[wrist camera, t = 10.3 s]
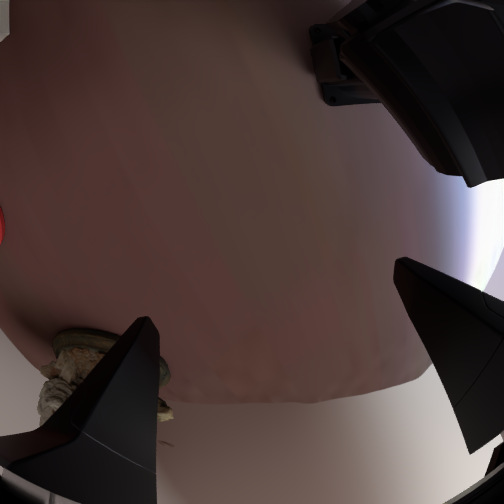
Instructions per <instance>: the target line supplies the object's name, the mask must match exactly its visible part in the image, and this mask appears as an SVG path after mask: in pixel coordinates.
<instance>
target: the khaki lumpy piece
mask: <svg viewBox="0 0 504 504" xmlns="http://www.w3.org/2000/svg"><path fill="white" fill-rule="evenodd" d="M119 338H120V337H119V336H117V335H115V334H112V333H108V332H102V331H97V330H91V329H69V330H64V331H63V332H60V333H59V334H58V335H57V336H56V337H55V338H54V340H53V343H52V347H53V350H54V353H55V355H56V358H57V361H56V362H54V361H53V362H51V363H50V364H49V365H45V366H42V367H41V369H40V372H41V374H42V375H44V376H45V377H46V378H48V379H49V381H46V382H45V383H44V386H43V388H42V390H41V392H40V396H39V397H40V399H39V402H38V407H37V410H38V413H39V414H40V415H41V417H40V426H42V425H43V424H44V423H45V422H46V420H47V419H48V418H49V417H50V416H51V415H52V414H53V413H54V412H55V411H56V410H57V409H58V408H59V407H60V406H61V405H62V404H63V403H64V402H65V400H66V399H67V398H68V397H69V396H70V395H71V394H72V393H73V392H74V390H75V389H76V388H77V387H78V386H79V384H80V383H81V382H83V380H84V378H85V377H86V376H87V375H88V374H89V373H90V371H91V370H92V369H93V368H94V367H95V366H96V364H97V363H98V362H99V361H100V360H101V359H102V357H103V356H104V355H105V354H106V353H107V352H108V351H109V349H110V348H111V347H112V346H113V345H114V344H115V343H116V341H117V340H118V339H119ZM169 380H170V371H169V368H168V365H167V364H166V362H165V361H164V359H163V358H162V357H161V356H160V381H159V389H160V388H162V387H164V386H166V385H167V384H168V383H169ZM173 418H174V416H173V413H172V409H171V408H170V407H169V406H167V404H166V402H165V401H163V400H162V399H161V398H159V397H158V411H157V421H160V422H163V421H164V420H166V421H168V420H169V419H173Z"/></svg>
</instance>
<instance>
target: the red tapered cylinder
mask: <svg viewBox="0 0 504 504" xmlns="http://www.w3.org/2000/svg"><path fill="white" fill-rule="evenodd" d="M4 234H5V222H4V216H3V213H2V210H1V207H0V244H1V242H2V240H3V238H4Z"/></svg>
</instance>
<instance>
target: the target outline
mask: <svg viewBox="0 0 504 504" xmlns="http://www.w3.org/2000/svg"><path fill="white" fill-rule="evenodd" d="M9 34H10V31H9V0H0V42H1V41H2V40H3V39H4V38H5V37H7V36H8V35H9Z"/></svg>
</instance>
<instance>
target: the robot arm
mask: <svg viewBox="0 0 504 504" xmlns="http://www.w3.org/2000/svg"><path fill="white" fill-rule="evenodd" d="M314 29H318V30H319V33H316V32H315V31H314ZM309 33H310V37H311V41H312V44H313V47H312V48H311V49H310V52H311V56H312V60H313V64H314V69H315V73H316V78H317V81H319V82H320V83H321V84H322V89H323V94H324V100H325V103H326V104H327V105H329V106H342V105H353V104H367V103H382V104H383V105H384V107H385V108H386V109H387V110H388V111H389V113H390V114H391V115H392V116H393V118H394V119H395V120H396V121H397V123H398V124H399V125H400V127H401V128H402V129H403V130H404V132H405V133H406V134H407V136H408V137H409V139H410V140H411V141H412V143H413V144H414V146H415V147H416V148H417V150H418V151H419V153H420V154H421V156H422V157H423V158H424V159H425V160H426V161H427V162H428V163H429V164H430V165H431V166H433V167H434V168H435V169H436V171H437V172H439V173H442V174H445V175H452V176H463V178H464V180H465V182H466V185H467V187H469V188H471V187H474V186H477V185H479V184H481V183H484V182H486V181H490V180H496V179H502V178H504V0H352V1H351V2H350V3H349V4H347V5H346V6H345V7H344V8H343V9H341V10H340V11H339V12H338V13H337V14H336V15H334V16H333V17H332V18H331V19H330V20H329V21H328V22H327V23H326V24H315V25H313V26H311V27H310V29H309ZM330 97H333V98H334V102H333V103H331V102H330ZM393 280H394V284H395V286H396V288H397V290H398V293H399V295H400V297H401V299H402V302H403V304H404V306H405V309H406V311H407V313H408V316H409V318H410V320H411V321H412V323H413V325H414V327H415V329H416V331H417V333H418V335H419V336H420V338H421V340H422V342H423V344H424V346H425V348H426V350H427V352H428V354H429V356H430V358H431V360H432V362H433V364H434V366H435V369H436V371H437V373H438V375H439V377H440V379H441V382H442V384H443V386H444V388H445V390H446V393H447V395H448V398H449V400H450V402H451V405H452V407H453V410H454V413H455V415H456V418H457V420H458V423H459V426H460V428H461V431H462V434H463V437H464V440H465V443H466V446H467V448H468V451H469V454H472V453H474V452H475V451H476V450H478V449H480V448H481V447H483V446H484V445H485V444H487V443H488V442H489V441H491V440H492V439H494V438H495V437H496V436H498V435H499V434H501V436H502V438H503V442H502V443H501V444H499V445H498V446H497V447H495V448H494V451H493V454H492V457H491V460H490V463H489V465H488V468H487V471H486V473H485V477H484V478H483V479H481V480H480V481H478V482H477V483H475V484H474V485H473V486H471V487H470V488H468V489H467V490H465V491H463V492H462V493H460V494H459V495H457V496H455V497H454V498H452V499H450V500H449V501H447V502H445V503H443V504H504V301H501V300H499V299H497V298H495V297H493V296H491V295H489V294H487V293H485V292H483V291H482V292H481V290H479V289H477V288H475V287H472V286H470V285H468V284H466V283H464V282H462V281H460V280H458V279H455V278H453V277H451V276H449V275H447V274H445V273H442V272H440V271H438V270H436V269H433V268H431V267H429V266H427V265H424V264H422V263H420V262H417V261H415V260H413V259H410V258H408V257H402V258H398V259H396V261H395V266H394V275H393ZM159 381H160V336H159V332H158V330H157V328H156V327H155V325H154V324H153V322H152V320H151V319H150V318H149V317H148V316H144V317H139V318H137V319H136V320H135V321H134V322H133V324H132V325H131V326H130V327H129V328H128V329H127V330H126V331H125V332H124V334H123V335H122V336H121V337H120V338H119V339H118V340H117V341H116V343H115V344H114V345H113V346H112V347H111V348H110V349H109V351H108V352H107V353H106V354H105V355H104V356H103V357H102V359H101V360H100V361H99V362H98V363H97V364H96V366H95V367H94V368H93V369H92V370H91V371H90V373H89V374H88V375H87V376H86V377H85V378H84V380H83V382H81V383H80V384H79V386H78V387H77V388H76V389H75V390H74V392H73V393H72V394H71V395H70V396H69V397H68V398H67V399H66V400H65V402H64V403H63V404H62V405H61V406H60V407H59V408H58V409H57V410H56V411H55V412H54V413H53V414H52V415H51V416H50V417H49V418H48V419H47V420H46V422H45V423H44V424H43V425H42V426H40V427H39V428H37V429H35V430H33V431H30V432H25V433H19V434H14V435H7V436H0V466H2V467H3V468H4V469H3V474H2V476H1V475H0V504H157V492H156V474H155V473H156V434H157V411H158V394H159Z"/></svg>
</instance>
